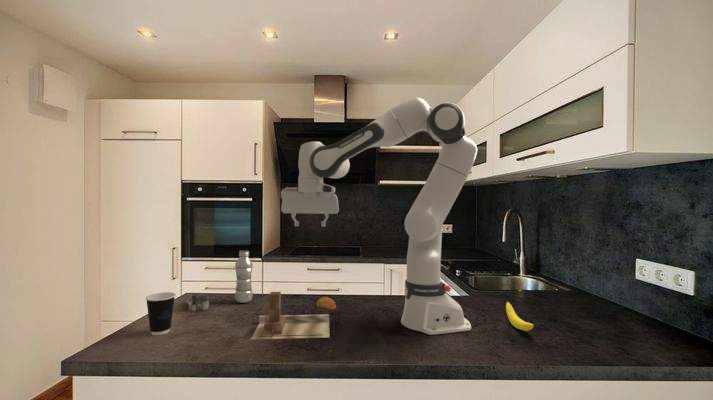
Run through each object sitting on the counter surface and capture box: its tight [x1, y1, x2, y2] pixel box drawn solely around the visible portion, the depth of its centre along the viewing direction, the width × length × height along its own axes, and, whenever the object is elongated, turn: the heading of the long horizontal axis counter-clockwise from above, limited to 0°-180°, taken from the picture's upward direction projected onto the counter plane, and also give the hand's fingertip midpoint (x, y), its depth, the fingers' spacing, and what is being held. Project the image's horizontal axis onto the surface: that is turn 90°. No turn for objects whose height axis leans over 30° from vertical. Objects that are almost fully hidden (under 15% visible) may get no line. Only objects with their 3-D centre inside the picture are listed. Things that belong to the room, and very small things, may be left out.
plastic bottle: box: [234, 249, 254, 304], centre depth 131 cm, size 6×7×20 cm
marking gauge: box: [264, 291, 286, 335], centre depth 100 cm, size 5×8×11 cm, turn 5°
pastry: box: [316, 296, 337, 310], centre depth 124 cm, size 9×7×4 cm
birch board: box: [250, 313, 330, 340], centre depth 101 cm, size 22×13×4 cm, turn 95°
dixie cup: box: [145, 291, 176, 336], centre depth 101 cm, size 8×8×11 cm
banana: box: [505, 300, 534, 332], centre depth 108 cm, size 3×19×6 cm, turn 178°
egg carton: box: [186, 294, 210, 312], centre depth 125 cm, size 11×8×4 cm
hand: (310, 226), depth 119 cm, fingers open, 8 cm apart
